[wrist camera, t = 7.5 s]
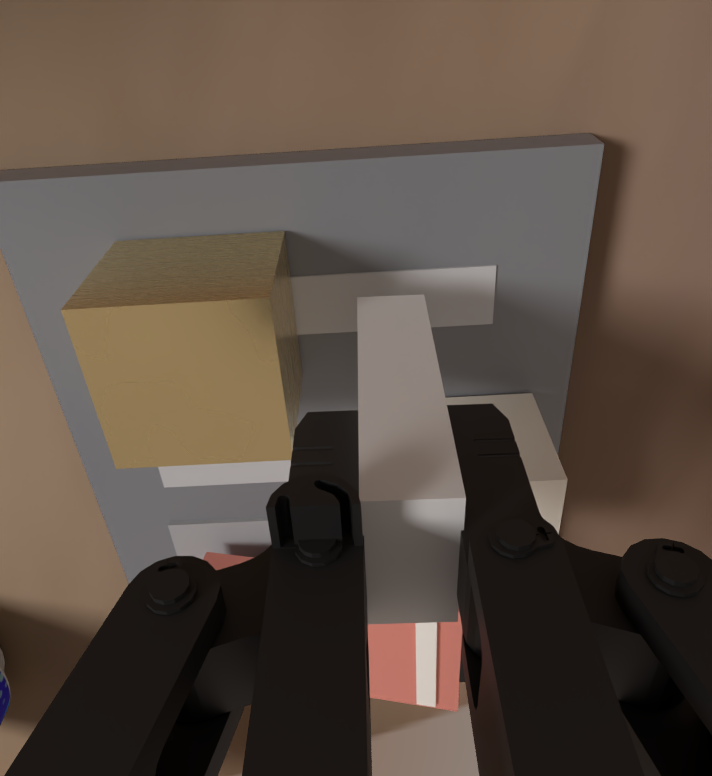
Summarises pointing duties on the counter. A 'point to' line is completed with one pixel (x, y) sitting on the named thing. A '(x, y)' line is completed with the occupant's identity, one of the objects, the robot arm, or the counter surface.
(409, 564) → the robot arm
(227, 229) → the panel
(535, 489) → the ivory slider
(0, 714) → the beer can
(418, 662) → the block
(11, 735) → the counter surface
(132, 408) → the brass slider
